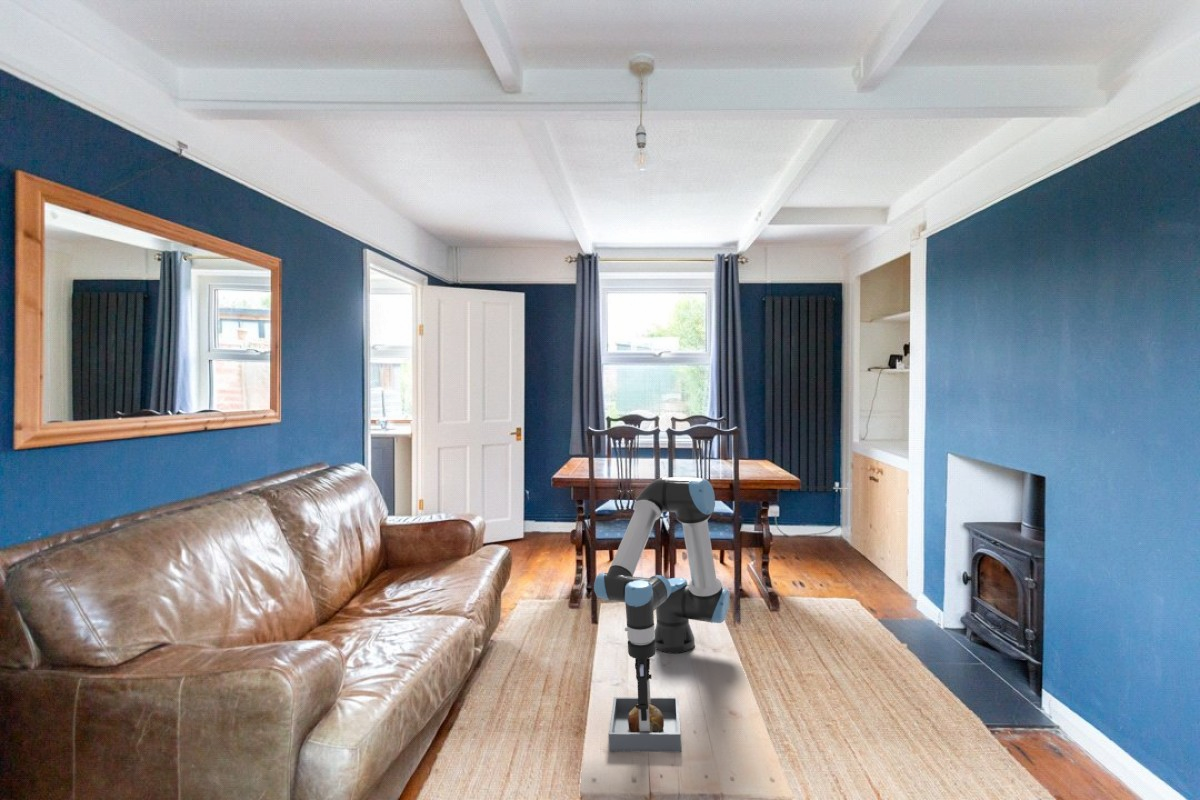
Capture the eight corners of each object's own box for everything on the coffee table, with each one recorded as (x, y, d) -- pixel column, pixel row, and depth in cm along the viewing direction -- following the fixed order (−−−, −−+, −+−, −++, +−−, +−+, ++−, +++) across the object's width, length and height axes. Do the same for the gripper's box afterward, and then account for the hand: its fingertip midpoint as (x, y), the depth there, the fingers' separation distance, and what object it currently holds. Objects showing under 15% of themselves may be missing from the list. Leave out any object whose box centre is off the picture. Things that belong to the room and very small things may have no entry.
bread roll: (666, 737, 165) (668, 704, 168) (658, 740, 156) (659, 706, 159) (632, 732, 168) (634, 700, 171) (622, 735, 159) (624, 702, 163)
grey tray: (614, 712, 174) (613, 697, 174) (678, 712, 172) (678, 696, 172) (609, 751, 155) (608, 734, 155) (681, 751, 153) (680, 734, 153)
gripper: (629, 621, 176) (633, 692, 176) (624, 660, 151) (629, 743, 152) (655, 621, 175) (659, 692, 176) (654, 660, 150) (659, 743, 151)
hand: (645, 716), depth 164 cm, fingers open, 13 cm apart
